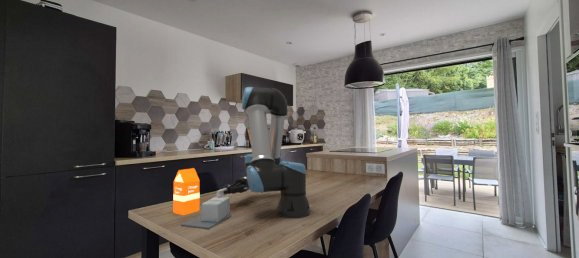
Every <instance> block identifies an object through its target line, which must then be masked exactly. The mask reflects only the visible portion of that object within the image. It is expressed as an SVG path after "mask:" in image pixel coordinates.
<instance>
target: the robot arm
mask: <svg viewBox="0 0 579 258" xmlns="http://www.w3.org/2000/svg"><path fill="white" fill-rule="evenodd" d="M241 101H242V103H241V110H244V111H245V114H246V115H247V116H248V120H249V132H250V133H249V134H250V145H251V153H250V154H246V155H244V156H245V158H244V176H243V177H239V178H237V179H236V180H235V181H234V182H233V183H231V184H227V183H226V184H225V185H223V186H221V187H220V189H219V190H216V193H215V195H216V196H215V197H224V196H226V195H230V194H231V195H234V194H237V193H238V194H243V193H246V192H247V191H249V190H250V191H251V192H252V193H261V194H262V193H269V192H280V197H279V201H278V204H277V207H276V214H277V215H278V216H281V217H283V218H289V219H290V218H291V219H292V218H293V219H295V218H297V219H298V218H303V217H307V216H308V215H310V214H311V207H310V204H309V201H308V198H307V180H306V179H307V172H306V171H307V170H306V165H305V164H304V163H301V162H294V161H284V159H283V157H282V156H281V151H282V145H283V144H282V142H283V135H284V130H285V129H284V128H285V122H286V121H285V120H286V116H288V111H289V108H288V101H287V99H286V97H285V95H284V94H283V93H282V92H281V91H280V90H279V89H277V88H274V87H273V88H272V87H254V86H247V87H245V88H244V91H243V95H242V100H241ZM268 113H269V114H270V115H271V116H270V123H269V124H270V126H269V128H268V121H267V114H268Z"/></svg>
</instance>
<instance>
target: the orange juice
mask: <svg viewBox="0 0 579 258" xmlns="http://www.w3.org/2000/svg"><path fill="white" fill-rule="evenodd" d="M200 181H201V180H200V178H199V176H198V173H197V171H196V169H195V168H194V167H191V168H185V169H178V171H177V172H176V176H175V178H174V180H173V195H172V196H173V199H172V200H173V205H172V207H173V208H172V211H173V212H172V213H174V214H177V215H180V216H186V215H189V214H193V213H195V212H199V211H200V198H201V197H200V196H201V194H200V193H201V192H200Z"/></svg>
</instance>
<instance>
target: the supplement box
mask: <svg viewBox="0 0 579 258" xmlns="http://www.w3.org/2000/svg"><path fill="white" fill-rule="evenodd" d="M230 209H231V197H229V196H225V197H224V196H221V197H216V196H213V197H212V198H210V199H208V200H206V201H205V202H203V203H201V214H200V215H201V221H203V222H219V221H220V220H221V219H223V218H224V217H225V216H227V215H230V213H231V212H230V211H231V210H230Z"/></svg>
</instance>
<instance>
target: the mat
mask: <svg viewBox="0 0 579 258" xmlns="http://www.w3.org/2000/svg"><path fill="white" fill-rule="evenodd" d="M230 218H232V215H231V214H228V215H227V216H225V217H224V218H223V219H221V220H220V221H219V222H203V221H201V214H200V215H199V216H198V215H197V216H196V217H194V218H192V219H189V220H187V221H185V222H183V223H181V224H180V227H187V228H195V229H197V228H198V229H203V230H204V229H205V230H210V229H212V228H214V227H216V226H217V225H219V224H220V223H223V222H225V221H226V220H228V219H230Z"/></svg>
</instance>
